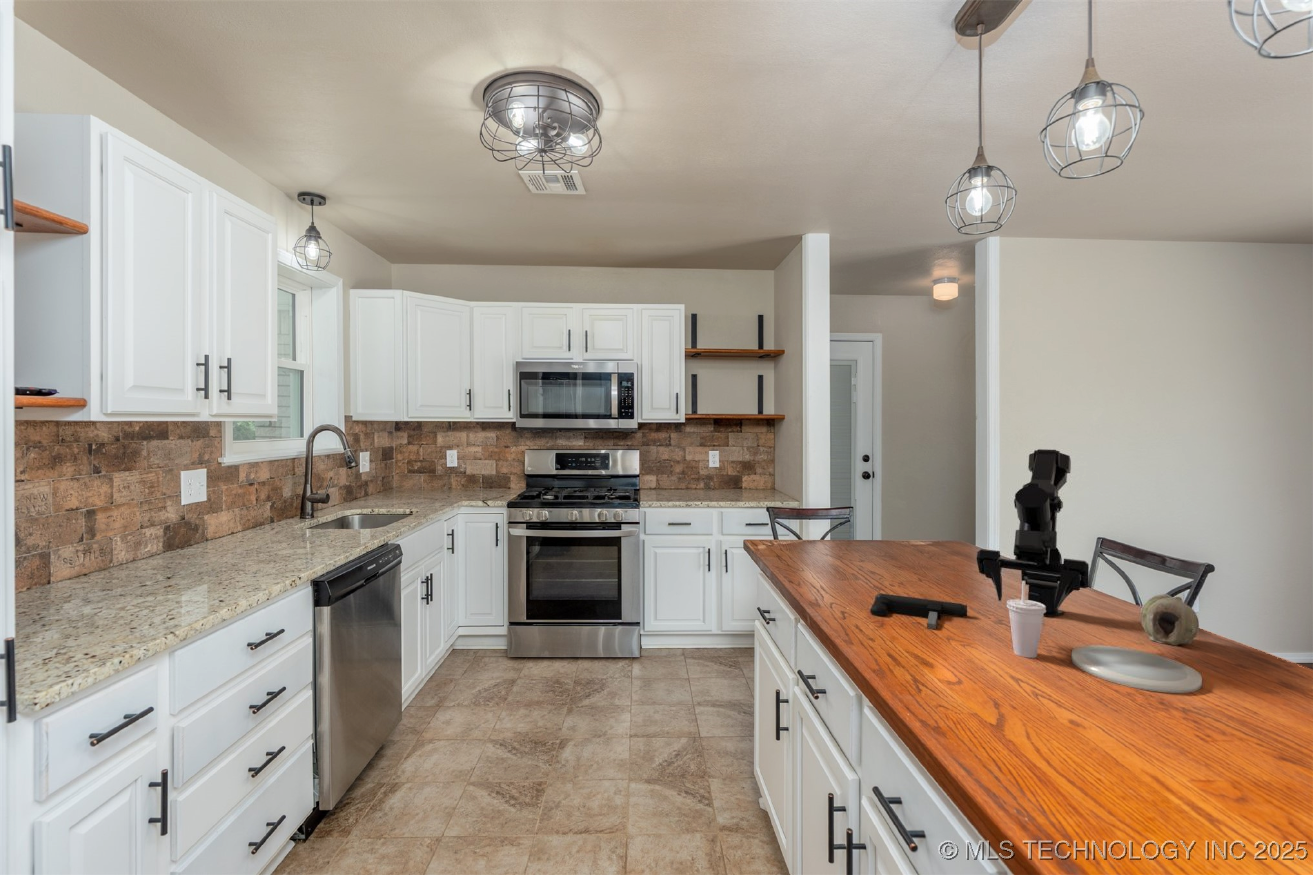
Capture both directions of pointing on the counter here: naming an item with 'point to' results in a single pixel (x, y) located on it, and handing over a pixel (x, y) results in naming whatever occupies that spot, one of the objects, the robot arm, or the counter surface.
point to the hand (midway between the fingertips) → (1027, 604)
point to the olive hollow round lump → (1169, 620)
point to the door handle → (916, 608)
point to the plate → (1137, 669)
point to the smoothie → (1025, 624)
